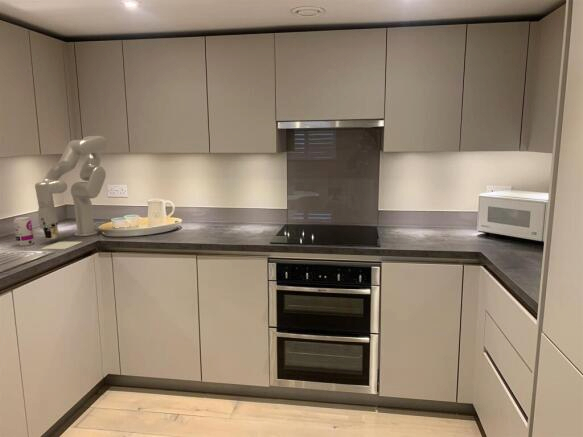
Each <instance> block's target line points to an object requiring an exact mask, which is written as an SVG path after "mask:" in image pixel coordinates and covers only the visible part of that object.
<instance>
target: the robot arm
mask: <svg viewBox="0 0 583 437" xmlns="http://www.w3.org/2000/svg"><path fill="white" fill-rule="evenodd" d="M107 140H108V139H107V138H105V136H102V135H89V136H85V137H83V138H82V139H74V140H70V141H69V143H67V145H66V147H65V149H64V151H63V153H62V156H61V157H60V158H59V159H60V160H59V161H58V162H57V163H55V165H54V166H52V167H51V168H50V169H49V170H48V172H47V173H46V175H45V177H44V178H43V180H42V181H40V182H37V183H35V184H34V188H35V193H36V194H35V195H36V200H37V206H38V209H37V212H38V216H37V217H38V224H39V228H40V229H42V231H43V232H44V231H45V235H44V238H45V237H46V238H51V231H49V226H57V227H58V223H60V220H59V218H58V213H57V209H56V207H55V206H56V205H55V201H54V196H53V195H54V194H63V193H65V192H66V191H67V189H68V184H67V182H66V181H64V180H61V179H60V178H62V177H63V175H65V174H67V173H69V172H71V171H73V170H74V169H75V168H76V166H77V163H78V162H79V160H80V158H81V156H82V155H83V156H85V159H84V161H83V164H82V166H81V169H80V171H79V178H80V180H82V181H77V182H74V183H73V184H72V185H71V186H70V193H71V197H72V201H73V206H74V213H75V224H76V232H75V233H74V236H75V237H88V236H94V235H97V234H98V230H96V229H97V228H98V227H99V226H98V225H97V224H94V221H95V220H94V212H93V205H92V200H91V199H95V198H97V197H98V196H99V195H100V193H101V190H102V188H103V185H104V183H105V180H106V176H107V175H106V173H107V172H106V170H105V169H104V167H102V166H101V161H102V158H101V157H102V156H101V155H100V152H101V151H104V150H106V149H107V146H108V141H107Z"/></svg>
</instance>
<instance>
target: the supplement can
mask: <svg viewBox="0 0 583 437" xmlns="http://www.w3.org/2000/svg"><path fill="white" fill-rule="evenodd" d="M13 226H14V233H15V240H16V245H17V246H18V247H26V246H31V245H33V244H34V243H35V237H34V231H33V225H32V219H31V217H30V216H20V217H15V218H14V220H13Z"/></svg>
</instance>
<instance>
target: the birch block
mask: <svg viewBox="0 0 583 437" xmlns="http://www.w3.org/2000/svg"><path fill="white" fill-rule="evenodd" d="M49 231H51V238H46V237H45V231H43V234H44V240H55V239H57V238H59V237H60V235H59V234H60V233H59V228H58V225H57V226H51V225H49Z"/></svg>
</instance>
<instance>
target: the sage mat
mask: <svg viewBox="0 0 583 437" xmlns="http://www.w3.org/2000/svg"><path fill="white" fill-rule="evenodd" d="M81 243H83V241H58V242H55V243H52V244H50V245H47V246H44V247H41V248H40V250H67V249H69V248H71V247H74V246H77V245H79V244H81ZM66 248H67V249H66Z"/></svg>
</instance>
